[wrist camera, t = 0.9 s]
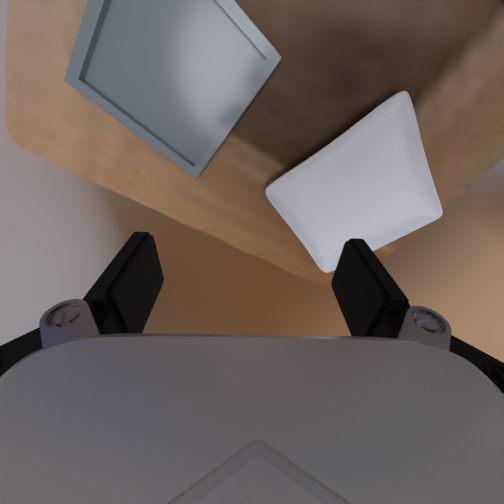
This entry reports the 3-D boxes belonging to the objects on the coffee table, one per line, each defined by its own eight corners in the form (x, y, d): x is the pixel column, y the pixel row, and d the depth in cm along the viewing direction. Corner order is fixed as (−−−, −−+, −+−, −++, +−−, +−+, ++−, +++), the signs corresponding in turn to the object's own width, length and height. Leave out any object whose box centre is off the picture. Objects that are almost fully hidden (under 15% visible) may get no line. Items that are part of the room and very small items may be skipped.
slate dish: (135, -112, 20) (127, -128, 19) (280, 58, 27) (282, 57, 26) (73, 80, 28) (64, 80, 27) (198, 175, 35) (196, 178, 34)
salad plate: (260, 183, 37) (261, 191, 34) (394, 85, 30) (409, 85, 27) (320, 265, 47) (325, 276, 44) (431, 206, 40) (445, 215, 37)
